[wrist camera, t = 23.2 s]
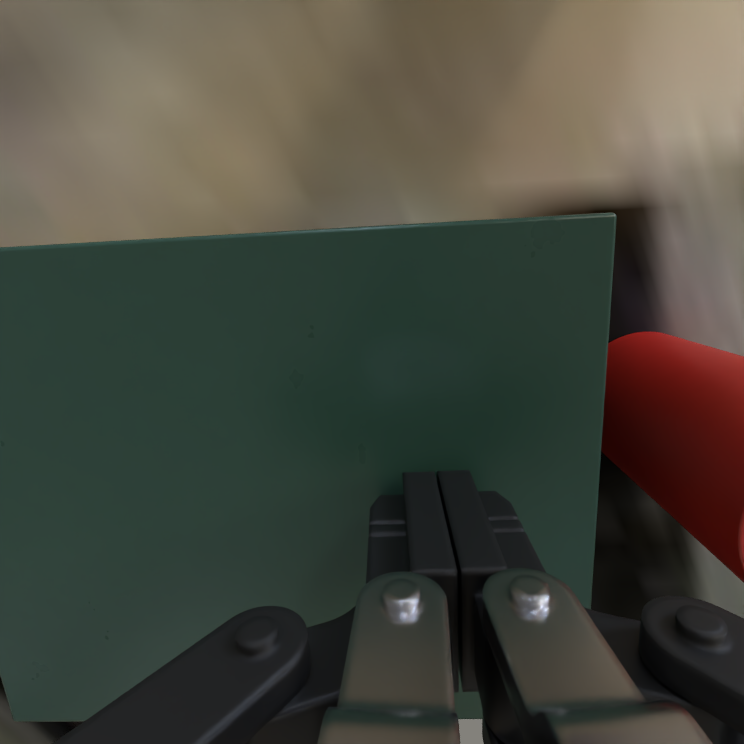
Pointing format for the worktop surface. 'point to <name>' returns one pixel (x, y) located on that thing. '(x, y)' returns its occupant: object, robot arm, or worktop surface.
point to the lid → (275, 425)
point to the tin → (681, 433)
